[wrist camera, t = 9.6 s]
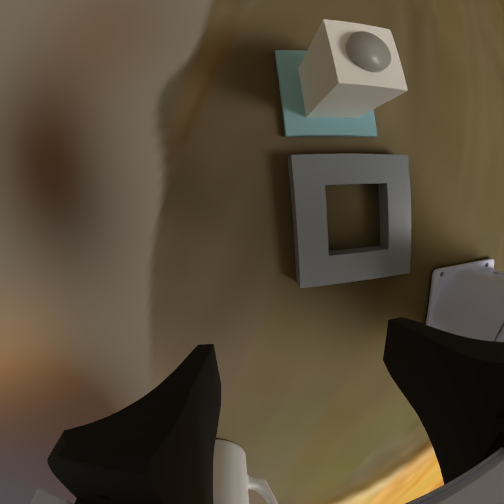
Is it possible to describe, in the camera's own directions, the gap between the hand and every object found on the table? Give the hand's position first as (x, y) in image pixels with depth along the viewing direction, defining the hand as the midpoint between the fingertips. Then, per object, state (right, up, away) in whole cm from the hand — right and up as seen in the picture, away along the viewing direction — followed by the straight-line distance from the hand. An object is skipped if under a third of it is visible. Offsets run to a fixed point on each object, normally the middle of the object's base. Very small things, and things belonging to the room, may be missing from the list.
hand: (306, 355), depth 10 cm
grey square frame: (+5, +7, +9) cm, 13 cm away
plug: (+3, +16, +7) cm, 17 cm away
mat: (+3, +16, +7) cm, 18 cm away
